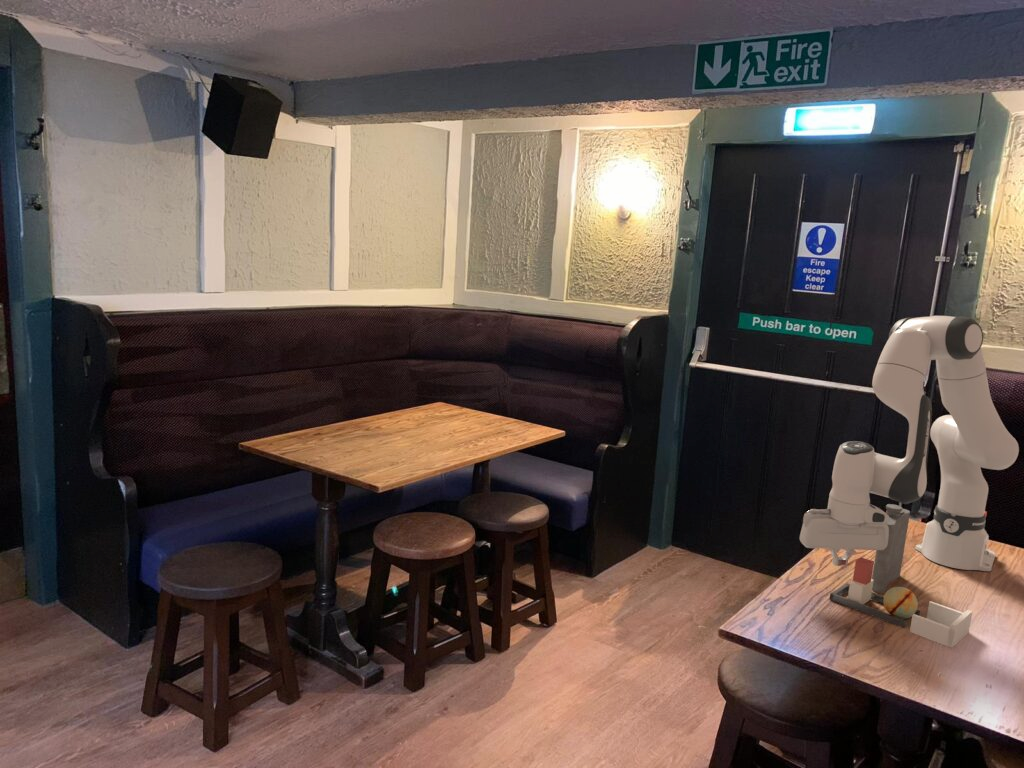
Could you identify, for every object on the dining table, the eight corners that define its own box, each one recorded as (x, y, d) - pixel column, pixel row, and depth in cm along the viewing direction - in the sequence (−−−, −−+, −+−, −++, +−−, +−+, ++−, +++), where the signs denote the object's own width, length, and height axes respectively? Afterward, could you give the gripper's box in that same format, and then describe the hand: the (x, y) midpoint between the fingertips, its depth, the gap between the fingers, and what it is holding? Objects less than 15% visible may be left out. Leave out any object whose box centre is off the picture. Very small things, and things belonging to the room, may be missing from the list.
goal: (927, 617, 178) (931, 597, 177) (968, 632, 172) (972, 611, 171) (909, 631, 170) (913, 610, 169) (951, 647, 164) (955, 626, 163)
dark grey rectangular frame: (846, 588, 190) (847, 583, 190) (919, 615, 178) (920, 609, 178) (829, 599, 184) (830, 593, 184) (904, 627, 172) (905, 621, 172)
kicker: (858, 594, 187) (863, 555, 185) (870, 599, 184) (876, 560, 182) (847, 601, 182) (853, 561, 181) (859, 606, 180) (865, 566, 178)
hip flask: (882, 594, 189) (894, 515, 185) (864, 588, 191) (876, 511, 187) (901, 575, 200) (913, 501, 197) (884, 570, 203) (896, 497, 199)
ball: (875, 614, 178) (879, 585, 176) (890, 606, 182) (895, 578, 181) (906, 627, 172) (910, 598, 171) (921, 619, 176) (925, 590, 175)
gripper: (810, 513, 180) (803, 569, 182) (895, 516, 181) (887, 571, 184) (799, 504, 186) (792, 558, 188) (881, 507, 187) (873, 560, 190)
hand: (839, 565), depth 186 cm, fingers closed
